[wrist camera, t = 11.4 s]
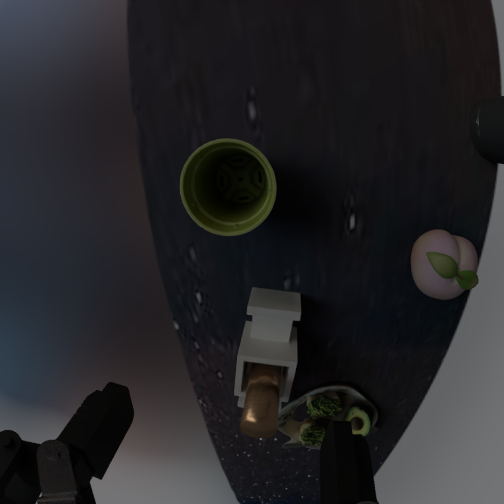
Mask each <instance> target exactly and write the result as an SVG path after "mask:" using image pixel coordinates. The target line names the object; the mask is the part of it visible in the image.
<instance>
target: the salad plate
mask: <svg viewBox="0 0 504 504" xmlns="http://www.w3.org/2000/svg"><path fill="white" fill-rule="evenodd" d="M306 400H307V407H308V411H307V413H310V416H309V418H308V419H304V421H303V422H297V421H295V420H293V419H292V415H293V413H294V411H295V409H296V408H297V407H298V406H299V405H300V404H302V403H303V402H305V401H306ZM377 419H378V411H377V409H376V407H375V406H374V405H373V403H372V402H371V400H370V399H368V398H367V397H366V396H365V395H364V394H363V393H362V392H361V391H360V390H359V389H358V388H356V387H355V386H353V385H351V384H348V383H340V382H335V383H327V384H323V385H321V386H318V387H314V388H312V389H310V390H308V391H307V392H306V393H305V394H304V395H302V396H301V397H299V398H297V399H295V400H293V401H292V402H290V403H289V404H288V405H286V406H285V407H284V408H282V409H280V412H279V416H278V429H279V430H280V431H281V432H283V433H285V434H286V435H288V436H289V437H291V440H290V441H289V442H287V443H284V444H283V446H282V447H283V448H297V447H308V448H311V449H320V447H321V443H322V440H323V438H324V435H325V433H326V430H327V428H328V425H329V423H330V421H350V422H351V425H352V432H353V434H362V435H363V437H364V436H366V435H369V434H372V433H374V432H376V431H377V430H378V429H379V428H377V427H375V423H376V422H377Z"/></svg>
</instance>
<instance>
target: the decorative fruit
mask: <svg viewBox="0 0 504 504" xmlns="http://www.w3.org/2000/svg"><path fill="white" fill-rule="evenodd" d="M477 266H478V258H477V253H476V250H475V248H474V246H473V245H472V244H471V242H470V241H468V240H467V239H465V238H463V237H460V236H456V235H451V234H450V233H448V232H447V231H444V230H431V231H428V232H426V233H424V234H423V235H421V236H420V237H419V238H418V239H417V241H416V242H415V244H414V246H413V249H412V253H411V270H412V275H413V279H414V281H415V283H416V285H417V286H418V288H419V289H420V290H421V291H422V292H423V293H424V294H426V295H428V296H430V297H433V298H437V299H442V300H446V299H452V298H454V297H457V296H458V295H460V294H461V293H462V292H463V291H464V290H469V289H472V288H474V287H475V286H476V285H477V284H478V276H477V274H476V272H477Z"/></svg>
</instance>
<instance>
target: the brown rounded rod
mask: <svg viewBox="0 0 504 504" xmlns="http://www.w3.org/2000/svg"><path fill="white" fill-rule="evenodd" d="M280 383H281V366H279V365H270V364H263V363H255V362H252V364H251V370H250V375H249V381H248V386H247V392H246V397H245V403H244V408H243V413H242V419H241V424H240V428H241V430H242V432H243V433H245V434H246V435H248V436H250V437H254V438H268V437H271V436H273V435H274V434H275V433H276V432H277V430H278V416H279V400H280Z"/></svg>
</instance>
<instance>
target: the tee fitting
mask: <svg viewBox="0 0 504 504" xmlns="http://www.w3.org/2000/svg"><path fill="white" fill-rule="evenodd" d="M247 315H253V321H252V322H251V321H246V324H245V328H244V332H243V336H242V340H241V344H240V348H239V352H238V357H237V368H236V380H235V391H234V395H236V396H239V400H238V407H243V408H244V403H245V397H246V392H247V386H248V381H249V375H250V370H251V364H252V362H255V363H263V364H270V365H279V366H281V383H280V400H279V412H280V409H281V401H282V402H288V399H289V395H290V391H291V387H292V383H293V379H294V375H295V371H296V366H297V327H292V323H293V320H295V321H300V316H301V299H300V293H295V292H287V291H278V290H271V289H263V288H255V287H252V291H251V295H250V299H249V303H248V307H247Z"/></svg>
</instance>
